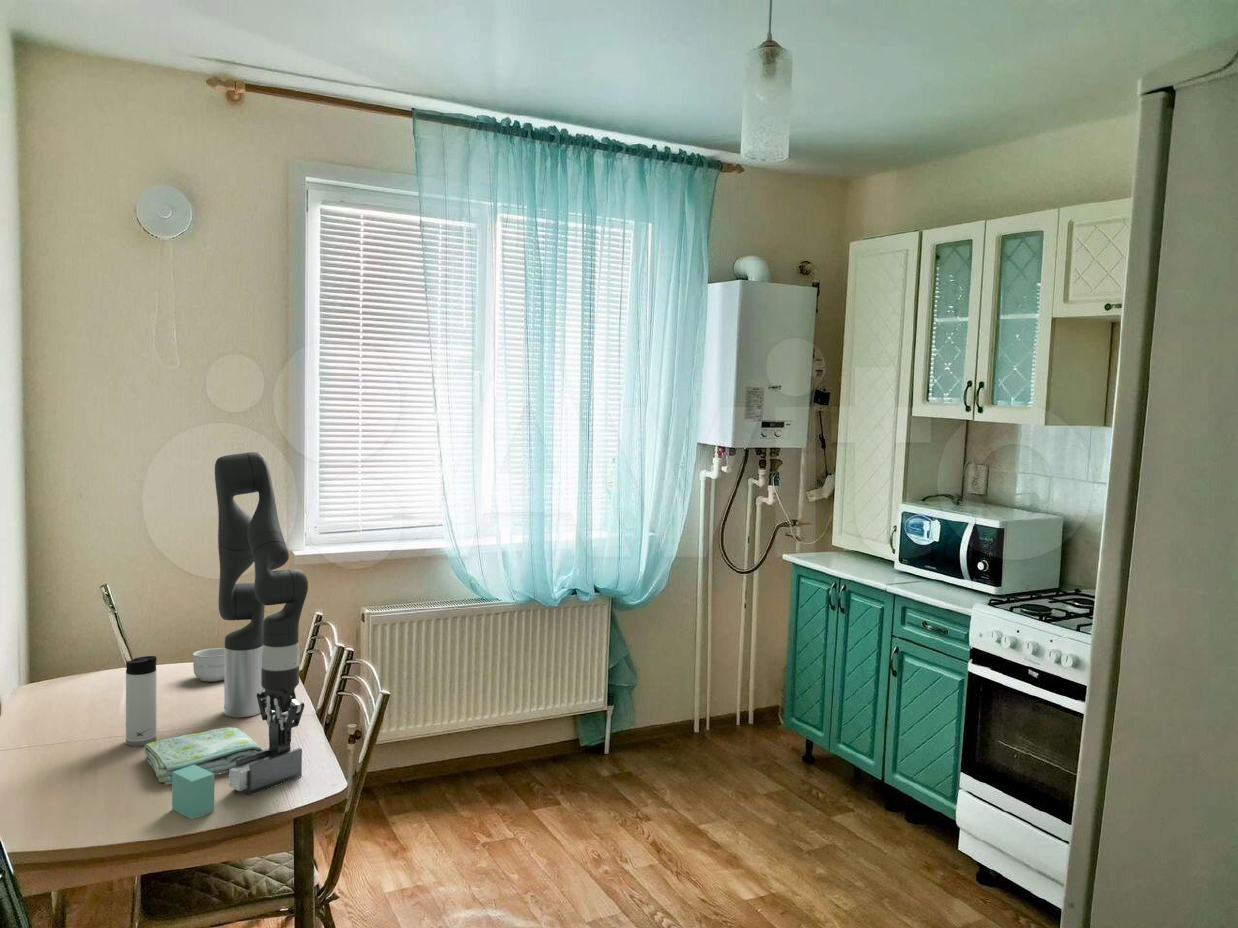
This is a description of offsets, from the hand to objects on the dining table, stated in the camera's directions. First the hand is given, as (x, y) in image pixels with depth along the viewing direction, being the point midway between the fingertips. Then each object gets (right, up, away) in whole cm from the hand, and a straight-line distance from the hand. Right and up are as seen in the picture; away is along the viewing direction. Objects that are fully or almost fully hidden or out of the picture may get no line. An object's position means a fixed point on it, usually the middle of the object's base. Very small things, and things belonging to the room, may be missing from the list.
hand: (279, 743), depth 190 cm
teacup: (-42, -2, +64) cm, 77 cm away
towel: (-20, -7, +8) cm, 23 cm away
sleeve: (-2, -8, -1) cm, 8 cm away
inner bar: (-2, -6, -3) cm, 7 cm away
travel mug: (-39, -5, +18) cm, 43 cm away
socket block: (-11, -8, -15) cm, 21 cm away
